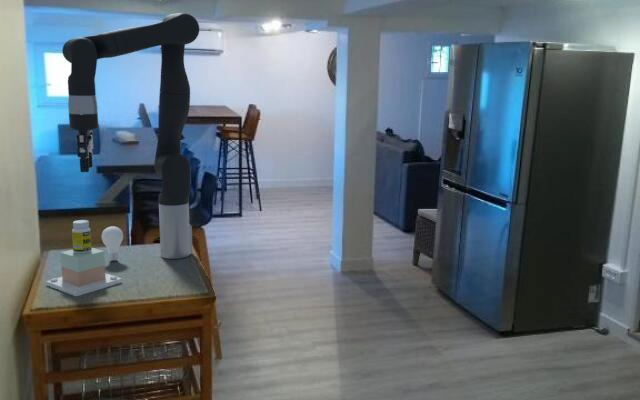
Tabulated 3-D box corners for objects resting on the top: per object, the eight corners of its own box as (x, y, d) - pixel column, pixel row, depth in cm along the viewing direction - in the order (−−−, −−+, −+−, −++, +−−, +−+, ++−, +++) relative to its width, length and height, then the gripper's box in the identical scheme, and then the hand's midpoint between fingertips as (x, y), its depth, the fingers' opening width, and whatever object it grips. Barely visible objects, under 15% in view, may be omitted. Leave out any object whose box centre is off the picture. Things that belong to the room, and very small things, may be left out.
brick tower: (91, 272, 175) (90, 242, 173) (121, 282, 167) (120, 250, 165) (46, 285, 164) (43, 252, 162) (76, 296, 156) (73, 262, 154)
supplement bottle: (85, 254, 161) (83, 224, 160) (69, 253, 162) (67, 222, 160) (95, 249, 166) (93, 220, 164) (79, 248, 167) (77, 219, 165)
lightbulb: (121, 257, 191) (120, 223, 189) (126, 262, 186) (125, 227, 184) (100, 259, 188) (99, 225, 186) (105, 265, 182) (103, 229, 180)
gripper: (72, 110, 173) (76, 166, 176) (64, 113, 160) (68, 173, 163) (100, 110, 175) (103, 166, 178) (94, 113, 162) (98, 173, 165)
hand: (86, 169), depth 171 cm, fingers open, 8 cm apart
